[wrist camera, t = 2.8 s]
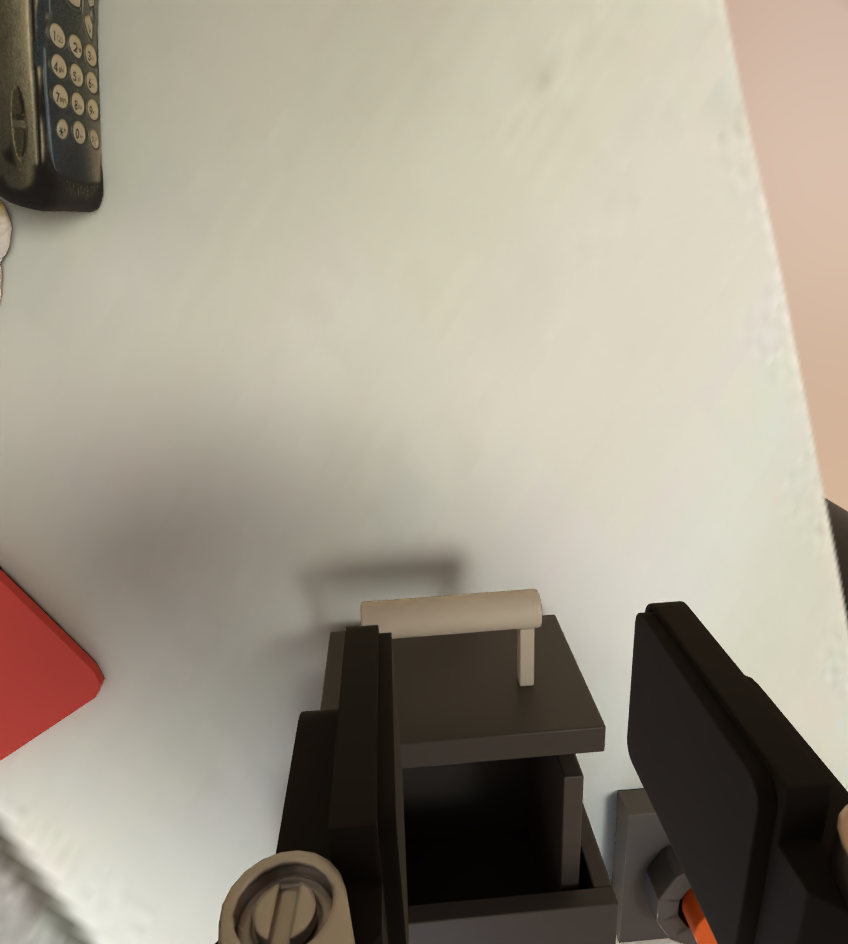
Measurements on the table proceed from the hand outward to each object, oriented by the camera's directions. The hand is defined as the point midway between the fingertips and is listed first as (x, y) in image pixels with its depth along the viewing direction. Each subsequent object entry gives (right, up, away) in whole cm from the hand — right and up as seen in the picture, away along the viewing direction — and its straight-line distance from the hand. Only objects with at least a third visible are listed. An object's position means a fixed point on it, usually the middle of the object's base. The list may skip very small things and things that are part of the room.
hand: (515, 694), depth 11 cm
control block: (+14, -19, +28) cm, 37 cm away
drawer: (0, -8, +22) cm, 24 cm away
